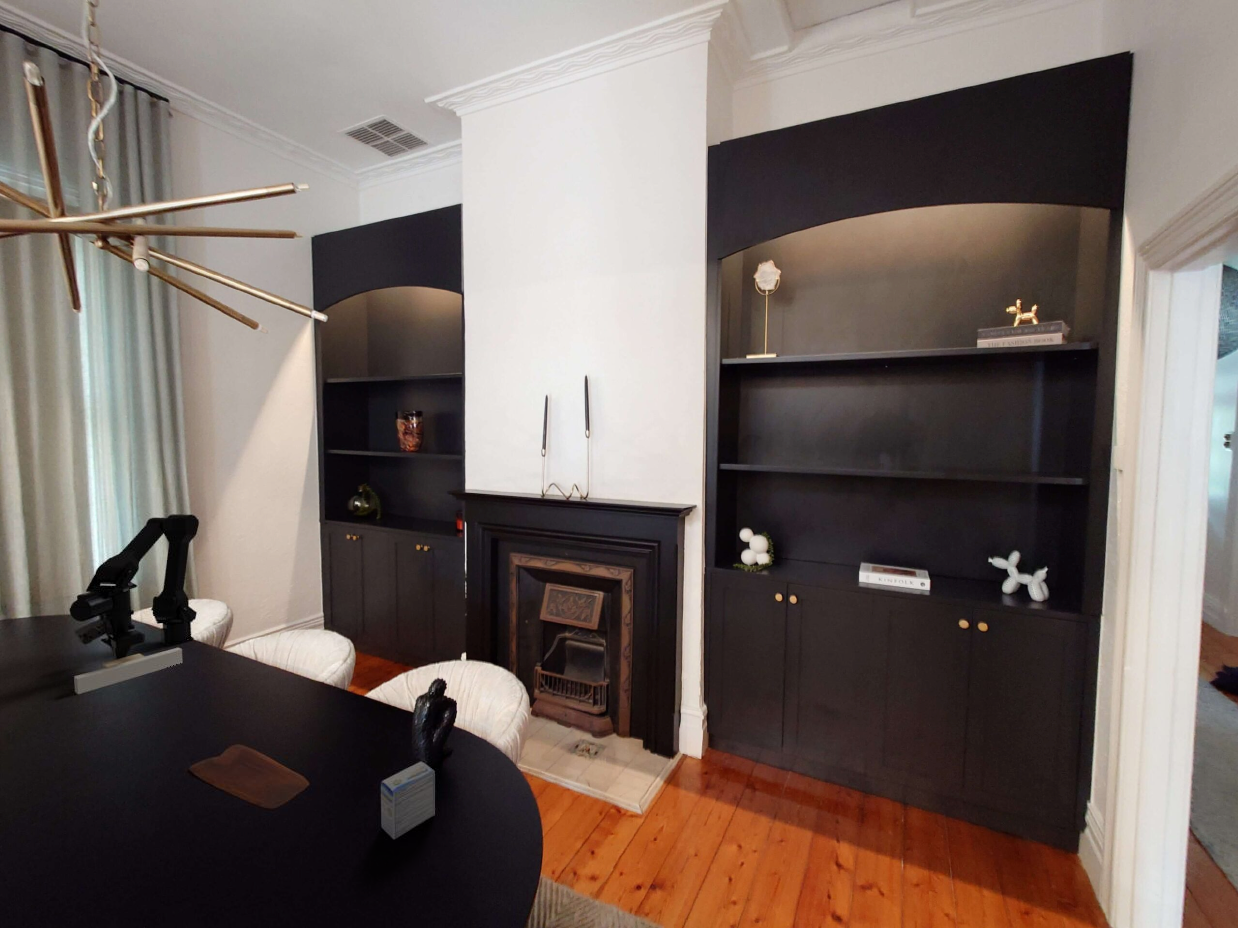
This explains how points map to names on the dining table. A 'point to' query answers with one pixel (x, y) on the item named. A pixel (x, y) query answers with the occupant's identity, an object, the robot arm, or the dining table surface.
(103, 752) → the dining table surface
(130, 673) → the fence bar
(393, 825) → the medicine box
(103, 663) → the maple block
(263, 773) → the wooden tablet
